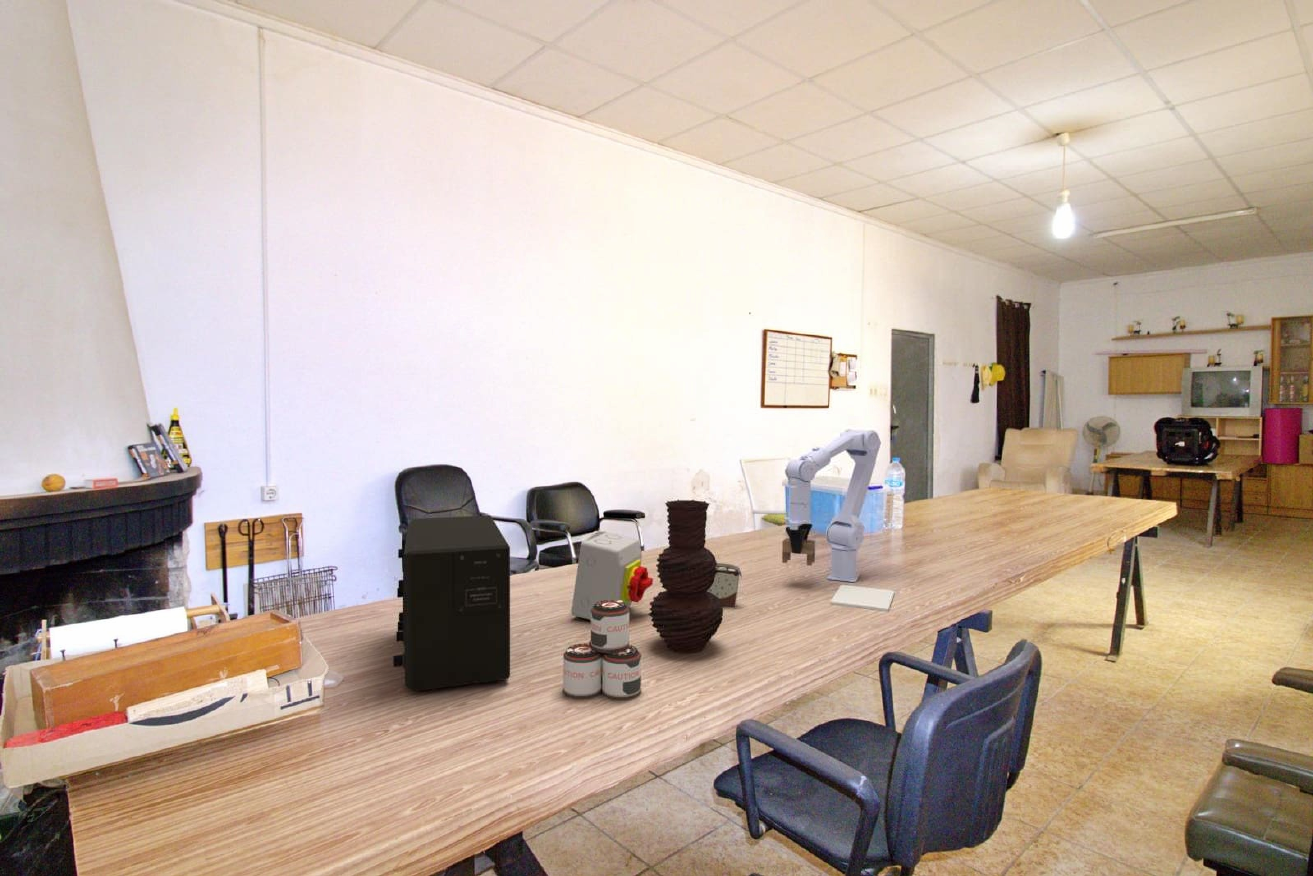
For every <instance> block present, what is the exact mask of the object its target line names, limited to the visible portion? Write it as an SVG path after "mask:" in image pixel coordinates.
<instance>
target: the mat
mask: <svg viewBox="0 0 1313 876" xmlns="http://www.w3.org/2000/svg"><path fill="white" fill-rule="evenodd" d="M895 593H896V591H895V590H890V589H889V590H888V589H883V588H882V589H881V588H873V587H864V586H855V585H847V584H841V585H840V586H839V588H838V589H837V591H836V592H835V594H834V595H833V597H832V598H831V600H830V602H829V603H830V605H836V606H845V607H852V608H860V609H869V610H875V611H885V612H889V610H890V607H891V605H892V601H893V598H894V596H895Z"/></svg>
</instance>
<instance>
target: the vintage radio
mask: <svg viewBox="0 0 1313 876" xmlns="http://www.w3.org/2000/svg"><path fill="white" fill-rule="evenodd" d="M401 538H402V539H401V548H398V551H397V557H398V559H401V571H402V579H399V580H398V583H397V584H398V588H397V590H396V592H397V593H396V595H397V596H396V597H397V598H402V611H401V612H398V621H397V631H396V634H395V635H396V639H395V641H396V642H397V643H398V642H403V646H404V650H403V651H404V652H403V653H402V654H397V655H393V656H392V657H393V658H392V661H393V662H392V664H393V665H392V666H393V668H396V667H402V668H403V670H404V687H406V688H407V689H409V690H410V691H411V692H416V691H417V692H425V691H427V690H433V689H440V688H446V687H455V686H457V687H458V686H464V685H471V684H472V685H473V684H480V683H496V682H498V681H504V680H509V679H510V677H511V547H510V545H509V543H508V542H507V540H506V539H505V537H504V535H503V533H502V532H501V530H500V528H499V527H498V525H497V523H496V522H495V521H494V519H493V517H492V516H491V515H490V514H488V515H469V516H468V515H467V516H449V517H428V518H427V517H425V518H414V519H412V520H411V521H409V522H408V524H407V529H406V533H405V534H402V537H401Z"/></svg>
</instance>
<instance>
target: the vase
mask: <svg viewBox="0 0 1313 876" xmlns="http://www.w3.org/2000/svg"><path fill="white" fill-rule="evenodd" d="M664 505H665V506H666V507H667V508H666V512H667V513H668V514H667V516H666V518H667V520H666V522H667V523H668V524H669V525H668V526H667V529H668V530H667V533H668V536H667V540H668V547H665V548H664V549H663V550H662V553H659V554H658V558H656V561H657V562H658V563H657V564H655V566H656V568H657V569H656V572H657V573H659V574H657V576H656V577H657V578H658V579H660V580H659V583H661V584H662V585H661V588H662V589H664V590H665V591H664V590H663V591H660V592H658V593H657V595H656V596H653V598H652V599H653V600H652V601H650V602H649V605H650V607H649V608H648V609H649V611H650V612H649V613H648V616H649V618H650V617H651V619H650V621H651V622H652V623H653V624H651V626H652V627H653V628H654V629H656V630H655V631H656V632H657V634H659V638H662V640H663V643H664V644H666V647H665V648H667V649H669V650H670V651H673V652H674V653H684V654H691V653H697V651H698V652H701V651H702V650H703V649H704V648H706V647H705V646H707V644H708V642H710V640H711V639H712V637H713V636H715V634H717V632H718V629H719V627H720V626H721V624H722V623H723V619H724V618H723V616H724V608H722V605H721V601H720V600H719V598H718V597H717V596H716V595H714V594H712V593H710V592H708V591H707V590H709V589H710V587H711V586H712V585H713V583H714V578H715V576H716V566H717V563H718V562H717V560H716V557H715V555H714V554H713V552H712V551H711V550H710V549H708V548H706V546H705V545H706V542H707V541H706V537H707V534H706V528H707V521H708V514H707V511H708V508H709V506H710V502H709V503H708V502H706V501H705V500H704V501H703V500H695V499H691V500H690V499H689V500H687V499H684V500H683V499H677V500H670V501H669V500H667V501H666V502H665V503H664Z"/></svg>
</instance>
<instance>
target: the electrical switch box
mask: <svg viewBox="0 0 1313 876" xmlns="http://www.w3.org/2000/svg"><path fill="white" fill-rule="evenodd" d="M579 548H580V550H579V556H578V562H577V563H578V564H577V570H576V576H575V583H574V591H573V596H572V597H573V598H572V603H571V604H572V605H571V611H570V614H571V615H572V616H575V617H579V618H582V619H586V620H589V621H591V609H592V608H593V606H594V605H595V603H597V602H599V601H603V600H618V601H619V600H621V601H623V602H624V603H625V604H626V606H627V607H628V608H629V609H630V606H631V605H632V603H633V602H634V603H639V602H640V601H642V599H643V597H644V594H645V592H646V590H648V588H650V587H651V586H652V585H653V584H654V583H653V582H654V578H653V577H649V571H648V568H647V567H645V566H641V564H642V554H643V553H642V547H641V542H640V539H637V538H635V537H631V536H626V535H624V534H623V535H622V534H618V533H615V532H610V531H605V530H595V531H593V532H592V533H591V534H590V535H589V536H587V537H586V538H585V539H583V540H582V541H581V544H580V547H579Z"/></svg>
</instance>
